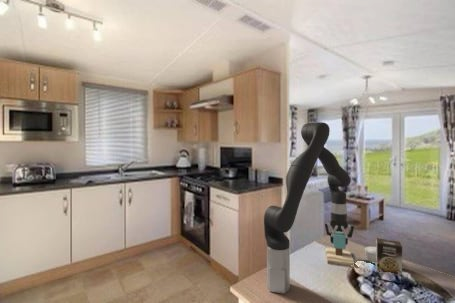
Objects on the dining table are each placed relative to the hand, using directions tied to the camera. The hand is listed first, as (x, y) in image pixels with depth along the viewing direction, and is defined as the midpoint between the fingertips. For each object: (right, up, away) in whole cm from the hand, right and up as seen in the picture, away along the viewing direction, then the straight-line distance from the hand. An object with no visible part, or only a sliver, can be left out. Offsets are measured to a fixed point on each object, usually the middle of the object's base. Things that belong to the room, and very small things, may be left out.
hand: (338, 243), depth 123 cm
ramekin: (+18, -8, -4) cm, 20 cm away
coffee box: (+13, -8, -19) cm, 24 cm away
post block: (0, -7, 0) cm, 7 cm away
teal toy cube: (0, -1, 0) cm, 1 cm away
